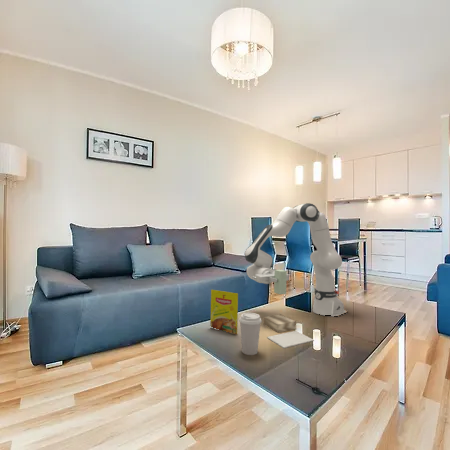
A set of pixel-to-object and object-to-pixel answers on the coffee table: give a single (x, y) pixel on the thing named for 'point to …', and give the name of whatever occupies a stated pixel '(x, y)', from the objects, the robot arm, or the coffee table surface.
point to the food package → (224, 311)
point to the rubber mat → (289, 339)
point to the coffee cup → (250, 332)
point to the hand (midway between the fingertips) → (281, 280)
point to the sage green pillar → (280, 281)
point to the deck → (279, 323)
